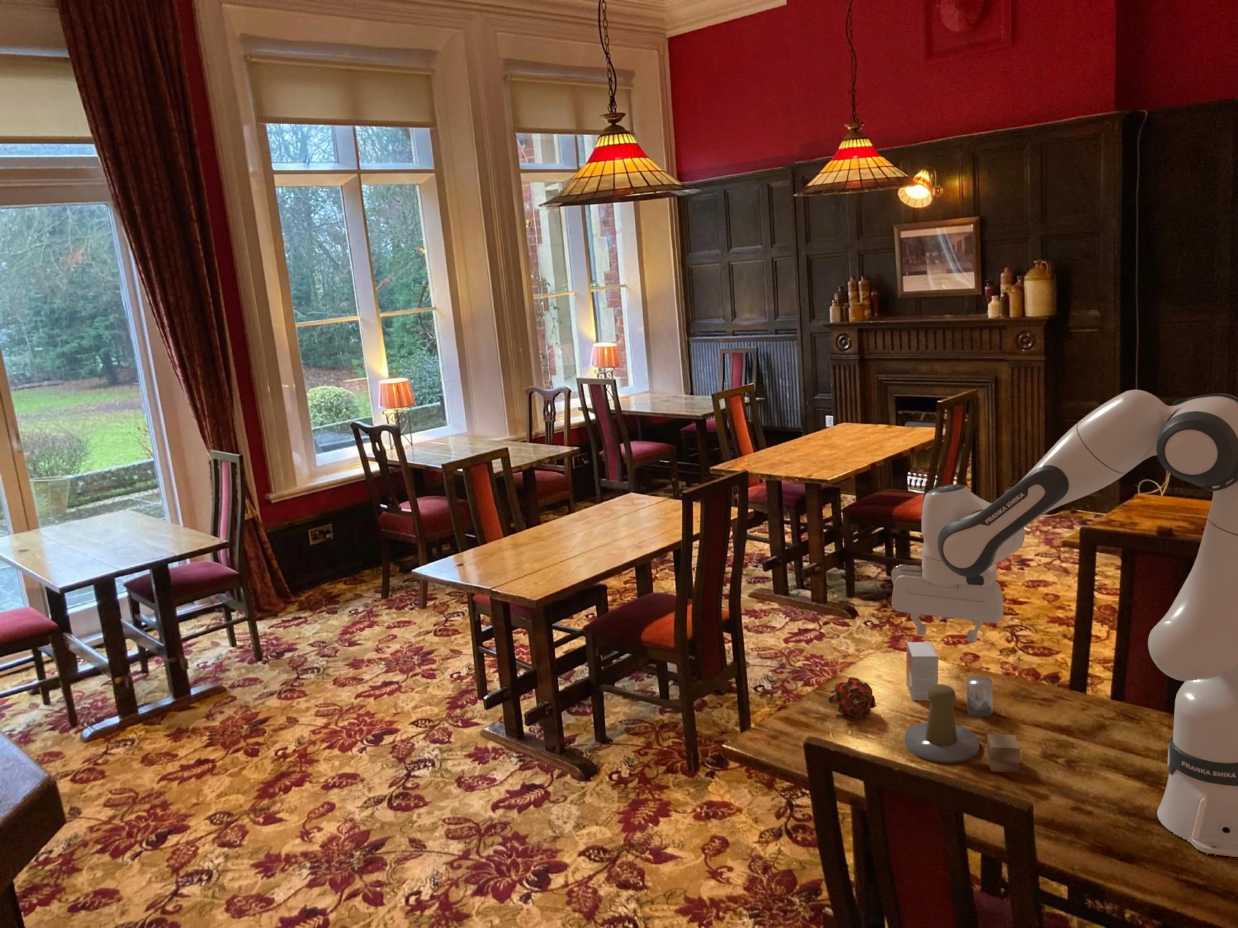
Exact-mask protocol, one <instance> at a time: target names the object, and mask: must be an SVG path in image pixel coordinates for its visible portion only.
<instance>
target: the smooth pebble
mask: <svg viewBox="0 0 1238 928" xmlns="http://www.w3.org/2000/svg"><path fill="white" fill-rule="evenodd" d="M927 723H928V722H921V723H918V724H915V725H912V726H911V727H909V728H908V729H907V730H906V731H905V734H904V745H905V748H906V749H907V750H908V751H909V752H910V753H911V754H913V755H914V756H917V757H918V758H921V759H924V760H927V761H931V762H935V763H944V764H945V763H946V764H953V763H962V762H965V761H968V760H971V759H973V758H974V757H976V756H977V755H978V753H979V751H980V741H979V738H978V736H977V735H976V734H975V733H974V732H972V731H971V730H970V729H967V728H965V727H963V726H960V725H957V724H955V726H956V734H957V742H956V743H955V744H954V745H951V746H938V745H934V744H931V743H930V742H928V741H927V740H926V737H925V736H926V730H927Z"/></svg>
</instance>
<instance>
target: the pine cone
mask: <svg viewBox="0 0 1238 928" xmlns="http://www.w3.org/2000/svg"><path fill="white" fill-rule="evenodd" d="M833 693H834V694H833ZM830 694H833V695H831V696H830V695H828V697H827V701H828V703H829V704H835V705H838V709H837V711H838V712H839V713H840V714H842V715H843V716H844V715H848V716H849V717H851V718H854V719H861V718H862V717H863V718H865V717H866V718H867V717H868V716H869V715H871V711H872V709H874V708H876V707H877V704H876V698H875V696H874V695H873V689H872V687H871V686H870V685H869V683H867V682H863V681H862V680H860V679H859V678H857V677H853V676H849V677H848V679H847V681H841V682H838V683H835V685H834V689H833V690H832V691H831V692H830Z"/></svg>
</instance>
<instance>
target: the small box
mask: <svg viewBox="0 0 1238 928" xmlns="http://www.w3.org/2000/svg"><path fill="white" fill-rule="evenodd" d="M905 647H906V653H905V654H906V661H905V663H906V667H905V668H906V673H905V674H906V677H905V678H906V680H905V683H906V687H907V689H908V693H909V695H910V700H911V701H912V702H914V701H915V700H917V702H918V700H919V701H920V702H921V700H924V702H925V701H927V700H929V699H928V690H929V689H930V687H931V686H933V685H937V684H939V656H938V654H937V652H936V649H935V647H934V644H933V642H932V641H931V642H929V641H917V642H915V641H910V642H909V641H908V642H906V646H905ZM915 702H916V701H915ZM927 702H928V701H927Z"/></svg>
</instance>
